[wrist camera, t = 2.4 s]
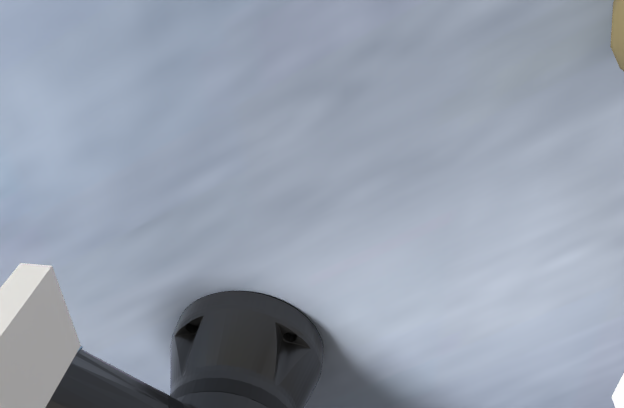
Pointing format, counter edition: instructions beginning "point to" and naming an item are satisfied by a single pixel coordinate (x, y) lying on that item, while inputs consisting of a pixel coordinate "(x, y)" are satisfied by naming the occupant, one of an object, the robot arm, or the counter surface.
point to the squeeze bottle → (618, 32)
